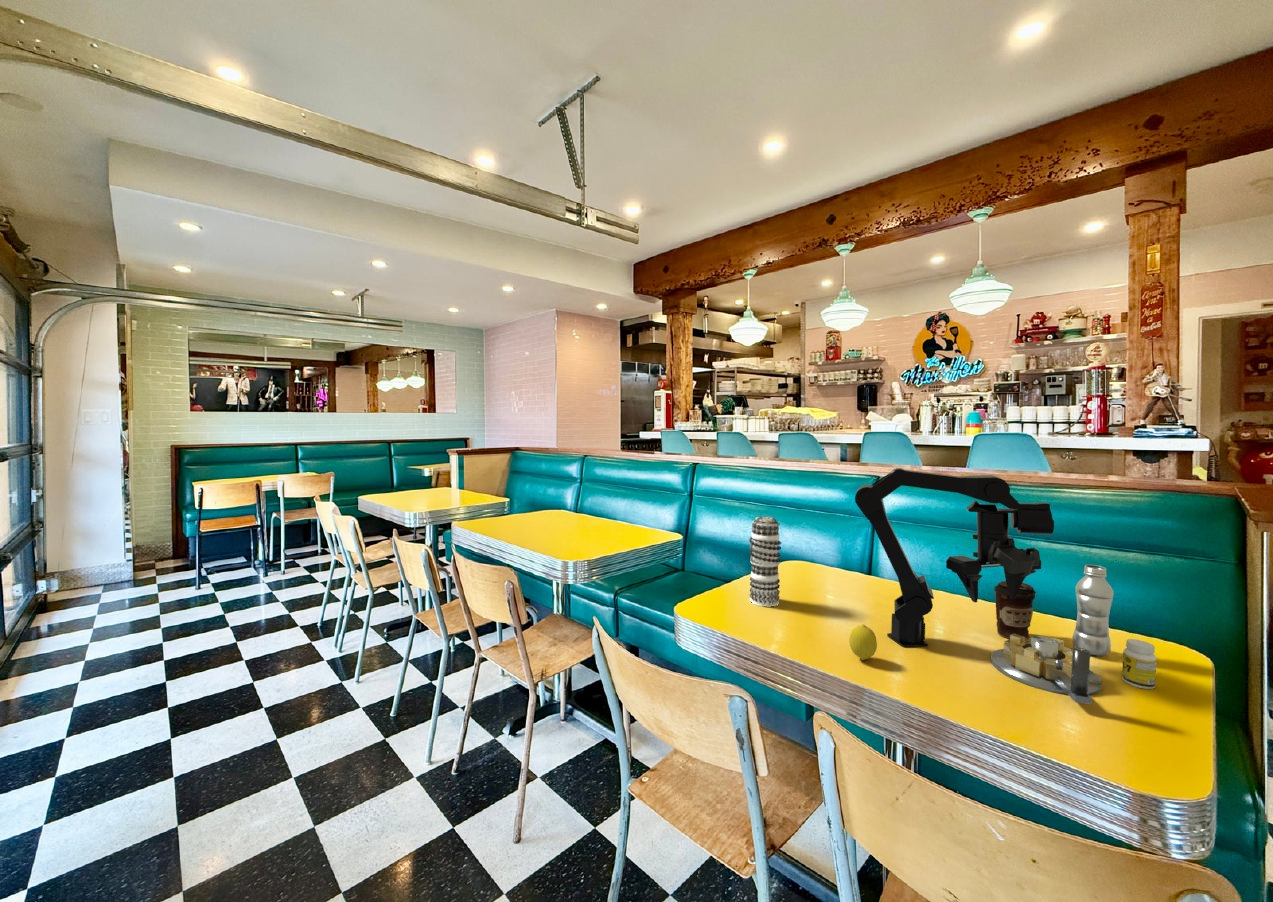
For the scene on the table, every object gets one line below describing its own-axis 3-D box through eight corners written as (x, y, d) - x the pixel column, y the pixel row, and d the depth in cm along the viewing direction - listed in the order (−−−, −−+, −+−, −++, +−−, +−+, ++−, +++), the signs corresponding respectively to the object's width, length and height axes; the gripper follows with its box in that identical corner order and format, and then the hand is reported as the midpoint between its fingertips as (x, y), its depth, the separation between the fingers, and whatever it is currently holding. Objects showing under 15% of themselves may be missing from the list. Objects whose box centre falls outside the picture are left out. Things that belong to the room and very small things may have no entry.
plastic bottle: (1100, 648, 115) (1104, 564, 114) (1117, 661, 109) (1122, 572, 108) (1066, 644, 117) (1070, 561, 116) (1081, 657, 111) (1085, 569, 110)
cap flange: (1043, 697, 94) (1045, 662, 94) (970, 654, 112) (972, 624, 112) (1127, 692, 96) (1129, 657, 96) (1043, 650, 114) (1044, 621, 114)
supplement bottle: (1118, 675, 103) (1120, 635, 102) (1149, 681, 101) (1152, 640, 100) (1126, 685, 99) (1128, 644, 98) (1159, 692, 96) (1161, 650, 96)
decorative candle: (744, 603, 144) (745, 518, 143) (754, 594, 152) (755, 514, 151) (775, 609, 139) (776, 522, 138) (784, 599, 147) (785, 517, 146)
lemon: (874, 668, 106) (875, 631, 105) (847, 661, 109) (848, 626, 108) (877, 657, 111) (878, 623, 110) (851, 651, 113) (852, 617, 113)
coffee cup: (1043, 645, 117) (1045, 591, 116) (1003, 642, 118) (1005, 589, 118) (1022, 630, 125) (1024, 580, 125) (985, 627, 127) (987, 578, 126)
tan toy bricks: (995, 647, 112) (997, 606, 112) (1065, 656, 108) (1067, 613, 108) (1040, 698, 91) (1042, 648, 91) (1128, 711, 87) (1131, 659, 87)
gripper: (982, 542, 101) (983, 617, 102) (1065, 536, 103) (1065, 609, 104) (943, 531, 112) (945, 598, 113) (1018, 526, 114) (1019, 592, 115)
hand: (993, 600), depth 111 cm, fingers open, 9 cm apart
